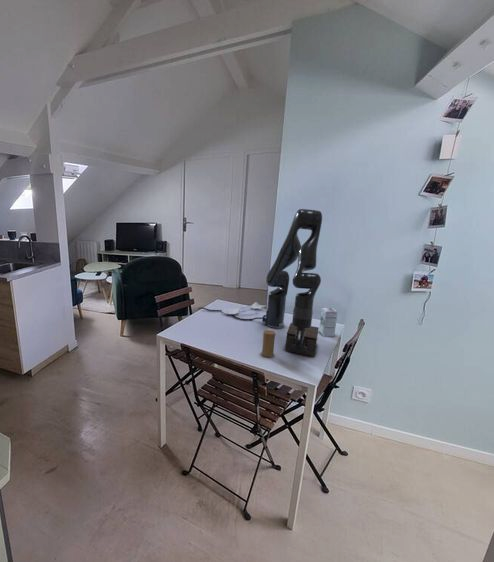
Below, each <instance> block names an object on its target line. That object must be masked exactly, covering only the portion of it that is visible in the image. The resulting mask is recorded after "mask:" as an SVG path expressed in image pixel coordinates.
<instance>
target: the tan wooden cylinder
mask: <svg viewBox="0 0 494 562" xmlns="http://www.w3.org/2000/svg"><path fill="white" fill-rule="evenodd" d="M275 339H276V332H275V331H274V330H272V329H271V330H270V329H265V330H264V331H263V335H262V346H261V347H262V349H261V355H262V356H263V357H265V358H272V357H274V352H275V351H274V350H275V341H276V340H275Z"/></svg>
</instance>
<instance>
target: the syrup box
mask: <svg viewBox="0 0 494 562" xmlns="http://www.w3.org/2000/svg"><path fill="white" fill-rule="evenodd" d="M320 312H321V313H320V321H319V329H318V333H320V334H321V335H322V336H323V337H335V334H336V325H337V319H338V311H337V310H336V309H335V308H333V307H321V311H320Z"/></svg>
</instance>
